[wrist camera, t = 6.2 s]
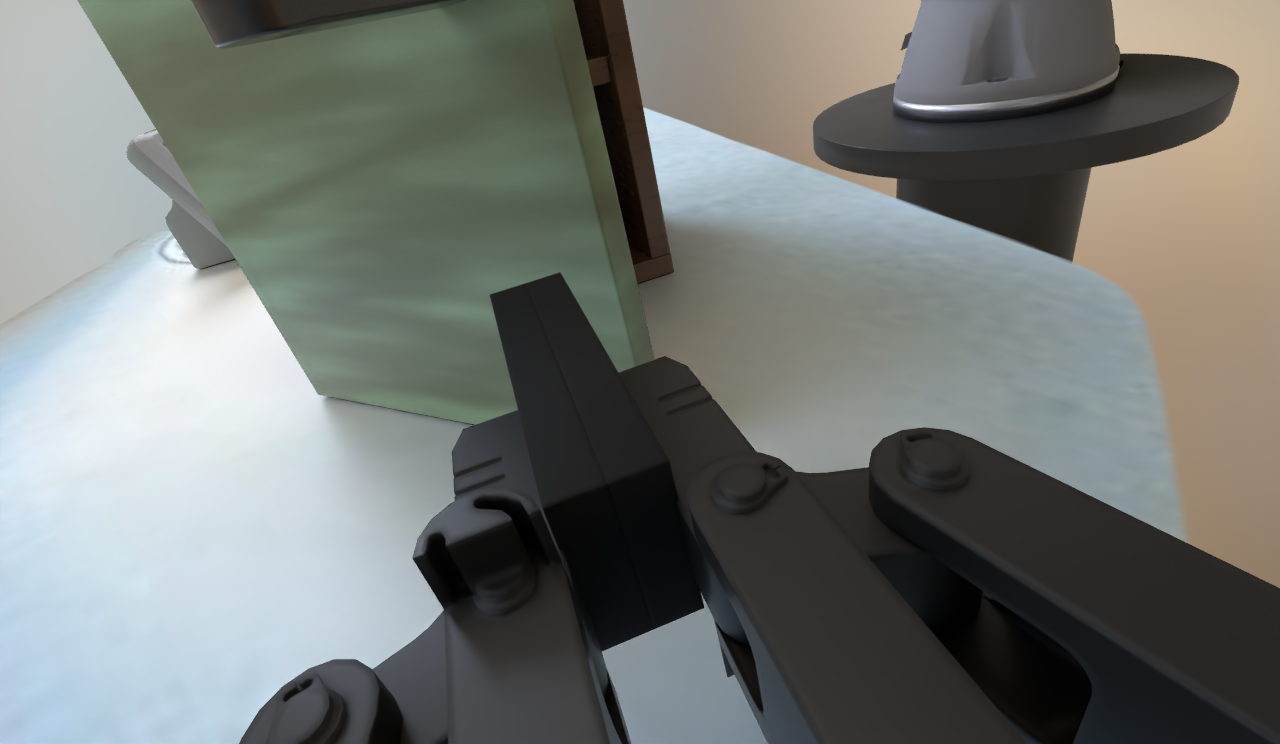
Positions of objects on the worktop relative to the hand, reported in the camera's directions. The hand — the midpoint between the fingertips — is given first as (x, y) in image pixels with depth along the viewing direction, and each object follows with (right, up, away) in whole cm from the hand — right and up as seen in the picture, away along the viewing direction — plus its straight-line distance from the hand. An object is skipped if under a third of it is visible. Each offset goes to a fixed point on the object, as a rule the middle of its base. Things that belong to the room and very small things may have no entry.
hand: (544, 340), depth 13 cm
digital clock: (-33, +11, +42) cm, 55 cm away
